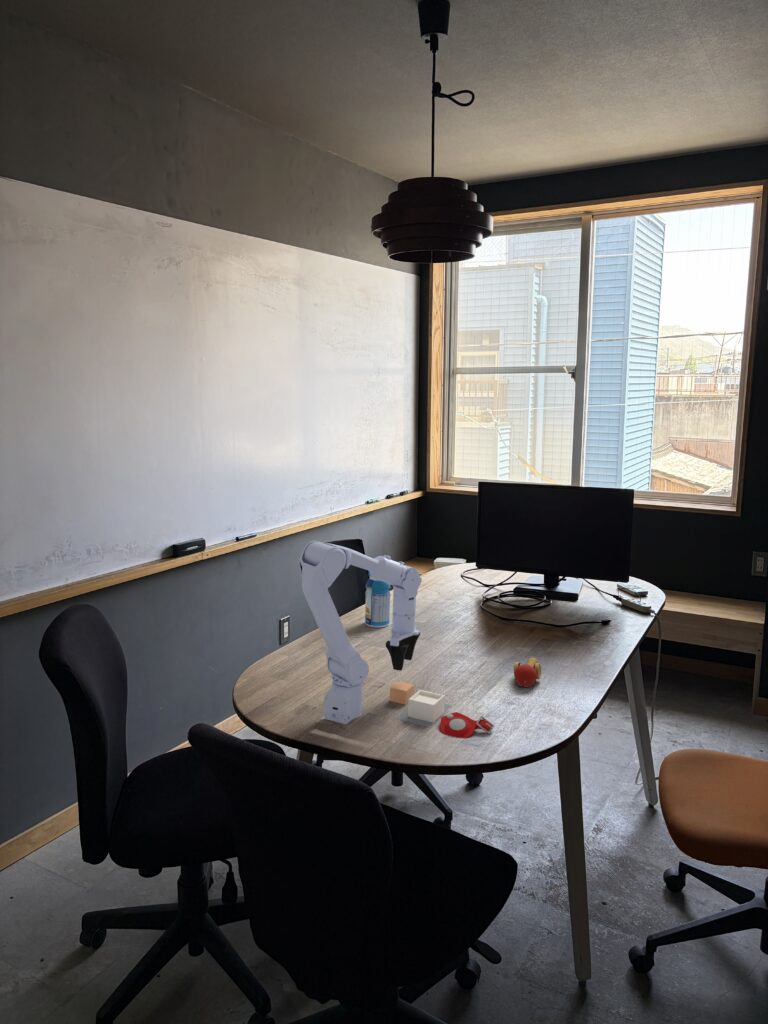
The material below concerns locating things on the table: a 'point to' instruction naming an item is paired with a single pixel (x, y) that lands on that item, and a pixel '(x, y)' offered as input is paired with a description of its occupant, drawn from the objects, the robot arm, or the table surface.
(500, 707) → the table surface
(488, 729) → the tracker holder
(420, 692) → the cream base block
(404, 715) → the baseplate
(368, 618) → the beverage bottle
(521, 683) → the kendama
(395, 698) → the orange block
